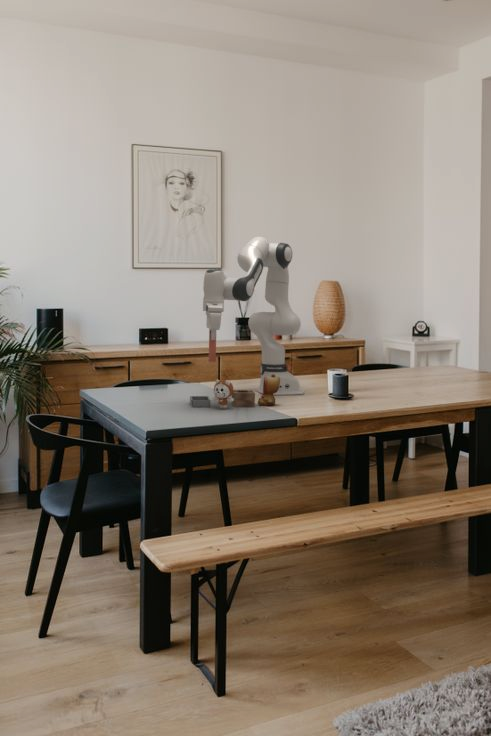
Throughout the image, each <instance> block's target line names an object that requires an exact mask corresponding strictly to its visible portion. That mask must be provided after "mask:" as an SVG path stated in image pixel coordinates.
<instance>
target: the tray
mask: <svg viewBox="0 0 491 736" xmlns="http://www.w3.org/2000/svg"><path fill="white" fill-rule="evenodd" d="M189 404H190V406H191V407H190V408H211V399H210V396H209V395H206V396H205V395H201V396H200V395H190V396H189Z"/></svg>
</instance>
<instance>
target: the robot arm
mask: <svg viewBox="0 0 491 736" xmlns="http://www.w3.org/2000/svg"><path fill="white" fill-rule="evenodd" d="M292 259H293V249H292V247H291V246H290V245H289V244H288V243H285V242H269V241H268V240H267V239H266V238H265V237H264V236H260V235H259V236H255V237H253V238H251V239H250V240H249V241H248V242H246V244H245V245H244V246H243V247H242V248H241V249H240V251H239V252H238V254H237V259H236V260H237V263H238V266H239V268H241V270H243V271H244V272H246V274H245V276H241V277H228V276H227V275H225V274H224V270H223V268H222V269H221V268H211V269H207V270H206V271H205V273H204V278H203V299H202V311H203V312H205V315H206V328H207V329H209V330H208V331H211V340H215V338H216V339H217V331H219V330H220V328H221V321H222V313H223V312H224V311H225V309H224V308H225V301H240V302H247V301H249V300H251V298H252V296H253V294H254V291H255V287H256V285H257V283H258V281H259V279H260V277H261V275H262V273H263V269H264V268H267V272H266V279H265V290H264V299H265V301H266V302H267V303H268V304H270V305H271V306H273V307H274V312H272V311H257V312H253V313H252V314H251V315H250V316H249V319H248V321H247V323H248V328H249V330H250V332H252V334H254V336H256V338H257V339H258V341H259V343H260V347H261V363H260V381H259V387H258V390H257V391H258V393H261V394H263V384H264V377H265V376H266V377H269V376H271V375H272V374H275V377H276V376H279V377H280V385H279V389H278V391H277V392H276V393H273V396H282V395H283V396H287V395H304V394H305V390H304V389H301V386H300V381H299V380H298V378H296V377H295V376H294V375H293V374H292V373H290V372H289V371H290V370H291V368H292V367H291V365H289V364H286V361H285V360H286V359H285V356H286V348H285V347H284V345H283V344H281V342H278V341H277V340H276V339H275V336H292V335H297V333H298V332H299V331H300V329H301V325H302V324H301V318H300V317H299V316H298V315H297V314H296V313H295V312H294V311H293V309H292V307H291V306H290V303H289V284H290V283H289V281H290V277H289V276H290V275H289V267H288V266H289V264H290V263H291V261H292Z"/></svg>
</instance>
